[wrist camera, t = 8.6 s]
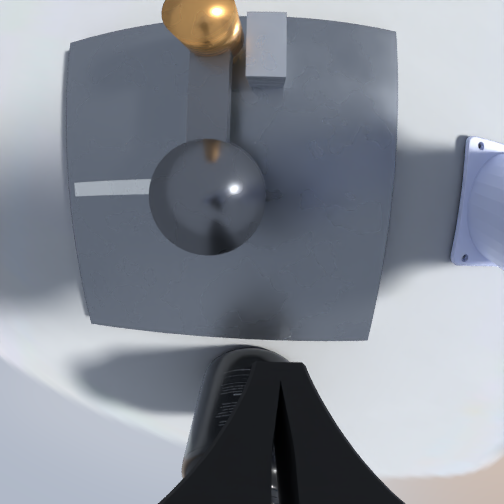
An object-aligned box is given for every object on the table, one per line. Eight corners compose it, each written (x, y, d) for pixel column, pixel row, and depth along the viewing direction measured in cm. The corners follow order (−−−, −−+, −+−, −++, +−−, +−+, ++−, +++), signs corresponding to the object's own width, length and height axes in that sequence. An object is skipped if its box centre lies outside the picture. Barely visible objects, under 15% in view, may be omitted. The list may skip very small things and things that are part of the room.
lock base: (389, 36, 13) (418, 14, 10) (363, 331, 20) (379, 370, 16) (78, 46, 14) (40, 33, 10) (97, 316, 20) (70, 348, 17)
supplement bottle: (188, 386, 22) (146, 529, 11) (237, 326, 20) (206, 501, 9) (265, 423, 23) (258, 559, 12) (321, 372, 21) (344, 530, 10)
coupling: (263, 246, 15) (260, 285, 11) (162, 241, 15) (129, 275, 11) (272, 17, 11) (273, -23, 7) (166, 21, 11) (132, -11, 8)
